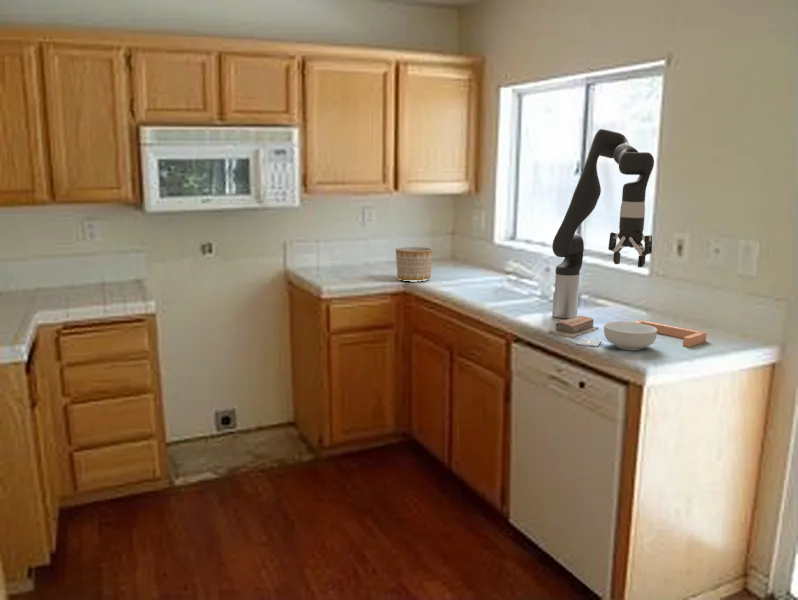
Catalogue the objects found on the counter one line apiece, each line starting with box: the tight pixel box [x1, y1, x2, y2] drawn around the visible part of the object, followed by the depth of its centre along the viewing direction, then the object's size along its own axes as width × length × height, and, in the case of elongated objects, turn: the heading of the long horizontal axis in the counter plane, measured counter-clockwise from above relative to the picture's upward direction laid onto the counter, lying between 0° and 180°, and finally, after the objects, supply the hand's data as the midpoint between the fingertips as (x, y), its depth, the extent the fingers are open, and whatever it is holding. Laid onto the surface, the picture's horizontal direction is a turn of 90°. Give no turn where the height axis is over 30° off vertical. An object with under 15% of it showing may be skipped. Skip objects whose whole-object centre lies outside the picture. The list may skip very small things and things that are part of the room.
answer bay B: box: [634, 319, 708, 348], centre depth 239 cm, size 12×25×3 cm, turn 40°
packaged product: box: [548, 315, 599, 338], centre depth 247 cm, size 18×5×10 cm
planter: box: [395, 246, 434, 280], centre depth 354 cm, size 19×19×16 cm
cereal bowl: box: [603, 320, 658, 351], centre depth 225 cm, size 17×17×7 cm
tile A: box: [576, 338, 602, 348], centre depth 230 cm, size 7×7×1 cm
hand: (628, 265), depth 221 cm, fingers open, 8 cm apart
